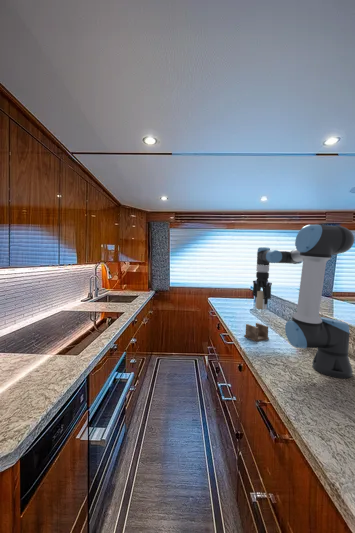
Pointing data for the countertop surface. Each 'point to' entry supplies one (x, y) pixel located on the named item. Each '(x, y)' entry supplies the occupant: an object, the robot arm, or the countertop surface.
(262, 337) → the holder
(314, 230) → the robot arm
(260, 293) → the beige rectangular block
